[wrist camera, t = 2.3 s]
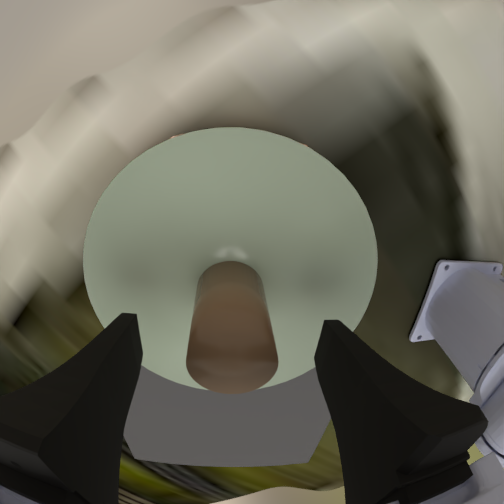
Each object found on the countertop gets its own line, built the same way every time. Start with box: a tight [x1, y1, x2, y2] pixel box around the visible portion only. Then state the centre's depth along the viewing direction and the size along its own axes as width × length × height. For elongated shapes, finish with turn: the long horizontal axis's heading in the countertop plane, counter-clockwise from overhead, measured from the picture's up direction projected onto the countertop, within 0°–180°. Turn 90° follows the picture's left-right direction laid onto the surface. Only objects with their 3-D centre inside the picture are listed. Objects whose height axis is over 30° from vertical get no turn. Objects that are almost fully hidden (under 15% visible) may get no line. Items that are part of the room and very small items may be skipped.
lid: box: [83, 127, 378, 394], centre depth 13 cm, size 15×15×6 cm
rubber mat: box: [123, 365, 331, 467], centre depth 27 cm, size 22×20×1 cm
